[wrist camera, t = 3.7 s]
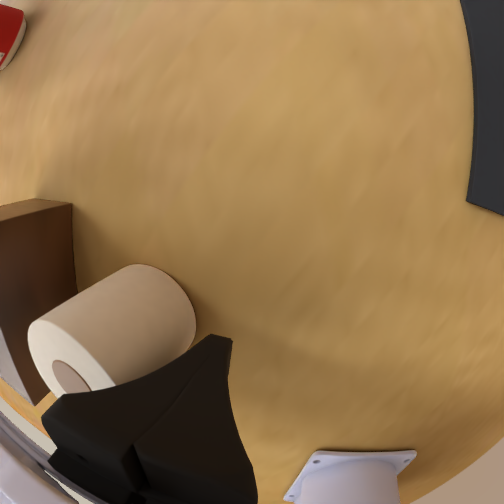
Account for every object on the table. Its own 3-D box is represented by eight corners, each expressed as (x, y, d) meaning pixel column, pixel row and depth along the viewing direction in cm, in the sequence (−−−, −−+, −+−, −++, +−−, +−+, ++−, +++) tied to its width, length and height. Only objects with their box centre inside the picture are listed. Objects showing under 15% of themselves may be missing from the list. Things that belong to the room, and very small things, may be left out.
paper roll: (219, 319, 12) (155, 416, 6) (165, 371, 14) (108, 447, 8) (136, 240, 12) (33, 287, 6) (98, 306, 14) (22, 359, 8)
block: (89, 354, 15) (34, 407, 10) (52, 335, 16) (-1, 376, 10) (71, 203, 12) (-21, 227, 7) (33, 198, 13) (-44, 217, 7)
